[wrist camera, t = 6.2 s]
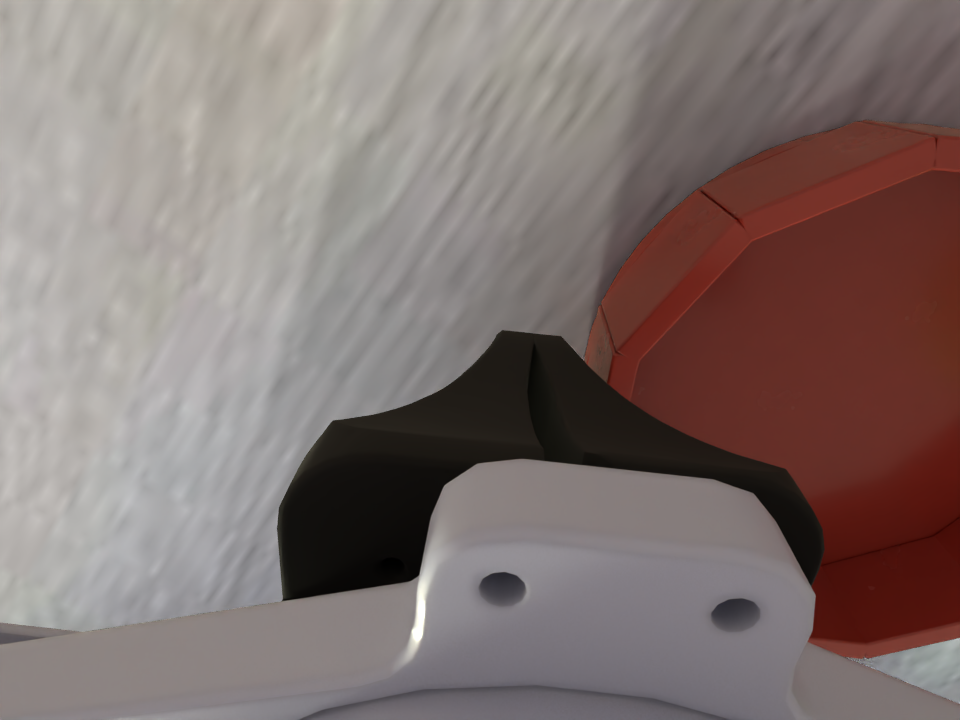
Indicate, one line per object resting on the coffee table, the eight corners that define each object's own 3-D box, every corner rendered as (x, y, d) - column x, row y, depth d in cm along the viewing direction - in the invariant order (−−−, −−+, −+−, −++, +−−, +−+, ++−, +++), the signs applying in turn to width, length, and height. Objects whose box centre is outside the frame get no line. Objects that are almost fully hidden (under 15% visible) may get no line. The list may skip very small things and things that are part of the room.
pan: (631, 95, 12) (663, 108, 9) (1215, 152, 12) (1424, 182, 9) (526, 677, 19) (526, 777, 17) (877, 716, 19) (934, 824, 17)
